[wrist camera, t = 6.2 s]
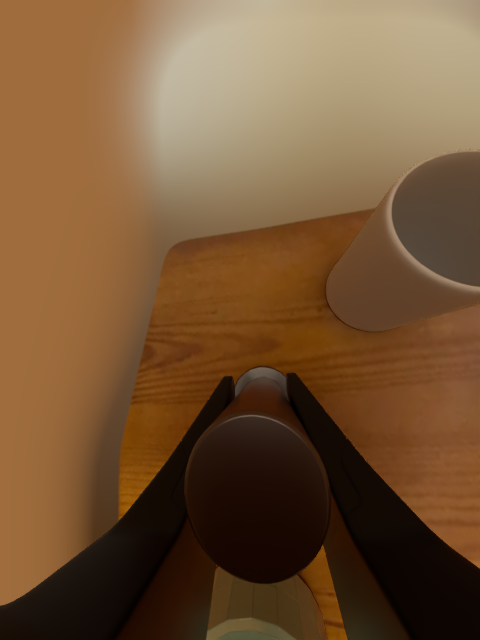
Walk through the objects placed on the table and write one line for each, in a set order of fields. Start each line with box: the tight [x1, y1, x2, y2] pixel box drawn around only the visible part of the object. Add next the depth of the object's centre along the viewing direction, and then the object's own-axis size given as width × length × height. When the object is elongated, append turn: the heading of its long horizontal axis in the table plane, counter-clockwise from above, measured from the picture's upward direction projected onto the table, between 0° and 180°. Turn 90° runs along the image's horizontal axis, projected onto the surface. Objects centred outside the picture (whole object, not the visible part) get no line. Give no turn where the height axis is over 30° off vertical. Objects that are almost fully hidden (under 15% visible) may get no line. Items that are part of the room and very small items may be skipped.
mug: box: [326, 150, 480, 332], centre depth 15 cm, size 12×8×11 cm
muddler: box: [184, 366, 331, 584], centre depth 9 cm, size 4×4×12 cm
